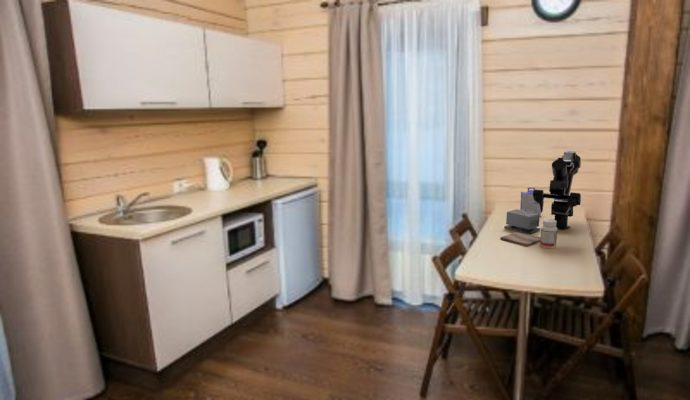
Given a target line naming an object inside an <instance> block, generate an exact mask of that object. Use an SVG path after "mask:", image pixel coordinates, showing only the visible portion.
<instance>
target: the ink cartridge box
mask: <svg viewBox="0 0 690 400" xmlns="http://www.w3.org/2000/svg"><path fill="white" fill-rule="evenodd" d="M535 189H536V188H535V187H527V191H520V209H519V210H523V211H528V212H533V213H538V214H540V217H541V216H542V213H541V209H540V205H539V203H537V202H536V201H534V199H533V191H534V190H535Z"/></svg>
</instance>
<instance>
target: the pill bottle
mask: <svg viewBox="0 0 690 400" xmlns="http://www.w3.org/2000/svg"><path fill="white" fill-rule="evenodd" d="M556 223H557V221H556V220H554V219H552V218H544V219H543V220H542V226H541V227H540V237H541V238H540V242H539V246H540V247H541V248H544V249H555V248H556V247H557V237H558V228H557V227H556Z"/></svg>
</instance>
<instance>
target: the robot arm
mask: <svg viewBox="0 0 690 400" xmlns="http://www.w3.org/2000/svg"><path fill="white" fill-rule="evenodd" d="M581 163H582V161H581V157H580V156H579V155H578V154H577V151H573V150H565V151H564V152H563V155H562V156H561V157H558V158H557V159H555V160H554V161H553V162H552V163H551V170H552V175H553V179H552V180H550V181H549V182H550V183H549V186H548V187H549V189H548V191H549V193H548V192H545V191H544V190H543V189H536V188H535V190H534V189H533V190H534V191H533V199H534V201H536V202H537V203H539V205H540V209H541V214H542V213H543V211H544V200H545V199H553V201H552V202H551V205H550V206H551V207H550V209H551V210H550V211H551V213H550V215H551V216H554V219H553V220H556V221H557V223H556V227H557V230H563V231H564V230H567V229H570V228H571V226H570V225H568V221H569V217H570V218H571V217H573V216H574V207H577V206H580V205H581V202H582V194H581V193H580V192H571V189H572V184H573V179H574V176H575V175H576V174H577V173H578V172H579V169H581V166H582V164H581Z"/></svg>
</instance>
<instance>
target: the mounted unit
mask: <svg viewBox="0 0 690 400" xmlns="http://www.w3.org/2000/svg"><path fill="white" fill-rule="evenodd" d="M540 217H541V216H540V214H538V213H533V212H528V211H523V210H520V209H512V210H510V211H506V218H505V219H506V220H505V221H506V222H505V224H506V225H505V226H504V227H503V228H504V229H506V230H510V231H514V232H522V233H526V234H530V235H532V234H534V233H537V232H541V227H540V226H539V225H540ZM539 227H540V228H539Z"/></svg>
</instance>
